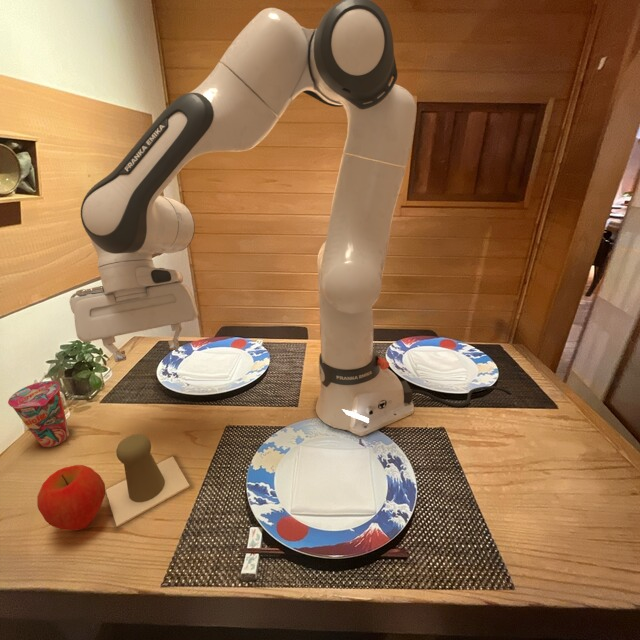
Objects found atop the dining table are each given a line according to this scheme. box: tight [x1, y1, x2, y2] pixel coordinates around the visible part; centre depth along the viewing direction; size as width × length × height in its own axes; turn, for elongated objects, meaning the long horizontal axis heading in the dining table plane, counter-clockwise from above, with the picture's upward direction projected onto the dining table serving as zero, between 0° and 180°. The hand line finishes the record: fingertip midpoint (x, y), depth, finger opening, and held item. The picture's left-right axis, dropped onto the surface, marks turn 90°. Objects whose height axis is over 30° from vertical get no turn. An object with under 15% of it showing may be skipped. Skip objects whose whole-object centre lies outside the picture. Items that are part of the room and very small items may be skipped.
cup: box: [7, 380, 70, 448], centre depth 74 cm, size 9×8×12 cm
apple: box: [36, 464, 106, 531], centre depth 56 cm, size 9×8×11 cm
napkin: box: [105, 456, 191, 528], centre depth 64 cm, size 12×9×1 cm
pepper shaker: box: [115, 433, 165, 502], centre depth 62 cm, size 6×6×11 cm
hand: (148, 355), depth 66 cm, fingers open, 8 cm apart
